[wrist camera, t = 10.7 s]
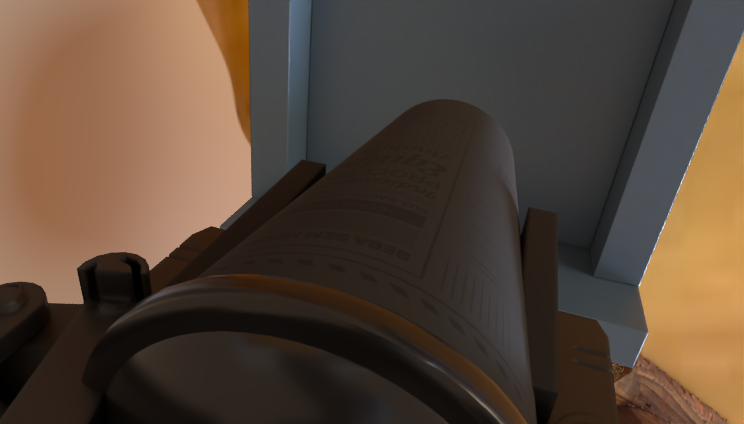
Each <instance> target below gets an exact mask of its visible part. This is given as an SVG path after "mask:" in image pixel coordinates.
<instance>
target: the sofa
mask: <svg viewBox="0 0 744 424" xmlns="http://www.w3.org/2000/svg"><path fill="white" fill-rule="evenodd" d="M248 1H249V60H250V118H251V173H252V176H251V177H252V198H251V199H250V200H248V201H247V202H246V203H245V204H244V205H243V206H242V207H241V208H240V209H238V210H237V211H236V212H235V213H234V214H233V215H232V216H231V217H230V218H228V219H227V220H226V221H225V222H224V223H223V224H222V225H221V226H220V229H224V230H226V229H227V228H228V227H229V226H230V225H231V224H233V223H234V222H235V221H236V220H237V219H238V218H239V217H240V216H241V215H242V214H243V213H244V212H245V211H247V210H248V209H249V208H250V207H251V206H252V205H253V204H254V203H255V202H256V201H257V200H258V199H260V198H261V197H262V196H263V195H264V194H265V193H266V192H267V191H268V190H269V189H270V188H271V187H273V186H274V185H275V184H276V183H277V182H278V181H279V180H280V179H281V178H282V177H283V176H284V175H285V174H287V173H288V172H289V171H290V170H291V169H292V168H293V167H294V166H295V165H296V164H297V163H298V162H300V161H301V160H302V159H303V160H308V161H312V162H317V163H322V164H326V174H327V173H329V172H330V171H331V170H332V169H334V168H335V167H336V166H337V165H339V164H340V163H341V162H342V161H344V160H345V159H346V158H347V157H349V156H350V155H351V154H352V153H354V152H355V151H356V150H357V149H359V148H360V147H361V146H362V145H364V144H365V143H366V142H367V141H369V140H370V139H371V138H372V137H374V136H375V135H376V134H377V133H379V132H380V131H381V130H382V129H384V128H385V127H386V126H387V125H389V124H390V123H391V122H392V121H394V120H395V119H396V118H397V117H399V116H400V115H401V114H402V113H404V112H405V111H407V110H408V109H410V108H411V107H413V106H415V105H418V104H420V103H423V102H426V101H431V100H437V99H451V100H458V101H462V102H466V103H469V104H471V105H474V106H476V107H478V108H480V109H481V110H483V111H484V112H486V113H487V114H489V115H490V116H491V117H492V118H493V119H494V120H495V121H496V122H497V123H498V124H499V125H500V126H501V128H502V129H503V131H504V132H505V134H506V136H507V137H508V140H509V142H510V145H511V148H512V152H513V157H514V166H515V178H516V189H517V200H518V212H519V223H520V234H522V230H523V226H524V222H525V219H526V215H527V211H528V207H531V208H536V209H540V210H545V211H550V212H554V213H558V311H562V312H566V313H570V314H574V315H578V316H582V317H586V318H590V319H595V320H597V321H598V323H599V324H600V326H601V327H602V329H603V330H604V332H605V333H606V335H607V336H608V339H609V346H610V354H611V355H610V358H611V362H612V363H615V364H619V365H623V366H626V367H630V368H633V366H634V364H635V362H636V360H637V357H638V355H639V353H640V351H641V348H642V346H643V344H644V342H645V339H646V337H647V335H648V328H647V324H646V319H645V315H644V311H643V306H642V302H641V297H640V293H639V288H638V287H639V285H640V283H641V280H642V278H643V276H644V273H645V271H646V268H647V266H648V264H649V261H650V259H651V256H652V254H653V251H654V249H655V247H656V244H657V242H658V239H659V237H660V234H661V232H662V230H663V227H664V225H665V222H666V220H667V217H668V215H669V213H670V210H671V208H672V205H673V203H674V200H675V198H676V196H677V193H678V191H679V188H680V186H681V184H682V181H683V179H684V176H685V174H686V171H687V169H688V167H689V164H690V162H691V159H692V157H693V154H694V152H695V150H696V147H697V145H698V142H699V140H700V137H701V135H702V133H703V130H704V128H705V125H706V123H707V120H708V118H709V116H710V113H711V111H712V108H713V106H714V103H715V101H716V99H717V96H718V94H719V91H720V89H721V87H722V84H723V82H724V79H725V77H726V74H727V72H728V70H729V67H730V65H731V62H732V60H733V57H734V55H735V53H736V50H737V48H738V45H739V43H740V40H741V38H742V36H743V33H744V0H248Z"/></svg>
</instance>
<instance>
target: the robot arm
mask: <svg viewBox="0 0 744 424" xmlns="http://www.w3.org/2000/svg"><path fill="white" fill-rule="evenodd" d="M325 175H326V164H322V163H317V162H312V161H308V160H303V159H302V160H301V161H300V162H298V163H297V164H296V165H295V166H294V167H293V168H292V169H291V170H290V171H289V172H288V173H287V174H285V175H284V176H283V177H282V178H281V179H280V180H279V181H278V182H277V183H276V184H275V185H274V186H273V187H271V188H270V189H269V190H268V191H267V192H266V193H265V194H264V195H263V196H262V197H261V198H260V199H258V200H257V201H256V202H255V203H254V204H253V205H252V206H251V207H250V208H249V209H248V210H247V211H245V212H244V213H243V214H242V215H241V216H240V217H239V218H238V219H237V220H236V221H235V222H234V223H233V224H231V225H230V226H229V227H228V228H227V229H226V230H224V229H220V228H216V227H212V226H211V227H209V228H206V229H204V230H202V231H199V232H197V233H195V234H193V235H191V236H190V237H189V238H188V239H187V240H186V241H185V242H183V243H182V244H181V245H180V247H179V248H176V249H175V250H174V251H173V252H171V253H170V255H169V257H166V258H165V259H163V260H162V261H161V262H160V263H159V264H157V265H156V266H155V267H154V268H153V269H152V270H150V271H149V266H148V264H147V262H146V260H145V259H144V258H142V257H140V256H139V255H137V254H132V253H126V252H120V253H108V254H104V255H99V256H96V257H94V258H92V259H90V260H88V261H86V262H84V263H83V264H82V265H81V266H80V267H79V268H77V271H78V276H79V281H80V286H81V290H82V295H83V299H84V304H55V303H53V304H52V303H48V302H47V297H46V293H45V292H44V290H43V288H42V287H41V286H39V285H36V284H34V283H28V282H13V283H6V284H2V285H0V424H104V394H102V393H100V392H98V391H96V390H93V389H91V388H89V387H87V386H85V385H84V384H83V382H82V376H83V372H84V370H85V367H86V364H87V361H88V359H89V356H90V354H91V352H92V350H93V349H94V347H95V345H96V343H97V342H98V340H99V339H100V338H101V337H102V335H103V334H104V333H105V331H106V330H107V329H108V328H109V327H110V326H111V325H112V324H113V323H114V322H115V321H117V320H118V319H119V318H120V317H121V316H122V315H123V314H124V313H126V312H127V311H128V310H129V309H130V308H131V307H133V306H134V305H135V304H137V303H138V302H140V301H142V300H143V299H144V298H146V297H148V296H150V295H151V294H154V293H156V292H158V291H160V290H162V289H164V288H167V287H170V286H173V285H176V284H179V283H182V282H185V281H189V280H193V279H196V278H197V277H198V276H200V275H201V274H202V273H203V272H205V271H206V270H207V269H208V268H210V267H211V266H212V265H213V264H215V263H216V262H217V261H218V260H220V259H221V258H222V257H223V256H225V255H226V254H227V253H228V252H230V251H231V250H232V249H234V248H235V247H236V246H237V245H239V244H240V243H241V242H242V241H244V240H245V239H246V238H247V237H249V236H250V235H251V234H252V233H254V232H255V231H256V230H257V229H259V228H260V227H261V226H262V225H264V224H265V223H266V222H267V221H269V220H270V219H271V218H272V217H274V216H275V215H276V214H277V213H279V212H280V211H281V210H282V209H284V208H285V207H286V206H287V205H289V204H290V203H291V202H292V201H294V200H295V199H296V198H297V197H299V196H300V195H301V194H302V193H304V192H305V191H306V190H307V189H309V188H310V187H311V186H312V185H314V184H315V183H316V182H317V181H319V180H320V179H321V178H322V177H324V176H325ZM521 246H522V279H523V290H524V301H525V312H526V323H527V335H528V346H529V357H530V368H531V379H532V388H533V392H534V397H535V405H536V415H537V424H619V418H618V410H617V402H616V394H615V386H614V378H613V373H612V362H611V358H610V355H611V354H610V346H609V339H608V336H607V335H606V333H605V332H604V330H603V329H602V327H601V326H600V324H599V323H598V321H597V320H595V319H590V318H586V317H582V316H578V315H574V314H570V313H566V312H562V311H558V213H554V212H550V211H545V210H540V209H536V208H531V207H528V211H527V215H526V219H525V222H524V226H523V230H522V234H521Z"/></svg>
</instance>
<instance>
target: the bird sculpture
mask: <svg viewBox="0 0 744 424" xmlns="http://www.w3.org/2000/svg"><path fill="white" fill-rule="evenodd" d="M647 362H648V363H647ZM657 368H658V367H655V366H654V365H653V363H652V364H651V363H650V362H649V361H648V360H647V359H646V358H645V360H644V359H643V356H642V355H641V354H640V353H639V355H638V357H637V360H636V362H635V364H634V366H633V368H630V367H626V369H625V370H624V372H623V373H622V374H621V376H620V377H619V378H618V379H617V380H616V381H615V382H614V386H615V394H616V402H617V410H618V418H619V424H667V422H670V424H729V423H728V422H727V419H726V420H724V418H720V417H719V414H718V413H714V412H713V410H712V408H711V407H709V406H708V407H706V406H705V405H704V404H703V403H700V402H699V399H698V398H695V396H694V395H693V393H692V395H691V394H690V395H689V392H688V390H686V389H685V388H684V387H683V386H681V385H679V384H678V383H677V382H676V381H675V380H674V381H673V380H672V378H670V377H669V376H668V375H667V374H666V373H665V372H662V371H661V370H659V369H657ZM670 379H671V381H670ZM682 388H683V389H684V392H683V390H682ZM647 403H649V405H648V404H647ZM628 404H632V405H633V406H636V407H633V406H631V405H630V406H629V405H628ZM642 406H643V407H644V408H645V409H646V410H644V409H643V408H641V407H642ZM653 413H654V414H653Z"/></svg>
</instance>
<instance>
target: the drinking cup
mask: <svg viewBox="0 0 744 424" xmlns="http://www.w3.org/2000/svg"><path fill="white" fill-rule="evenodd" d="M82 382H83V384H84V385H85V386H87V387H89V388H91V389H93V390H96V391H98V392H100V393H102V394H104V424H537V415H536V405H535V397H534V392H533V388H532V379H531V368H530V357H529V346H528V335H527V323H526V312H525V301H524V290H523V279H522V246H521V234H520V223H519V212H518V200H517V189H516V178H515V166H514V157H513V152H512V148H511V145H510V142H509V140H508V137H507V136H506V134H505V132H504V131H503V129H502V128H501V126H500V125H499V124H498V123H497V122H496V121H495V120H494V119H493V118H492V117H491V116H490V115H489V114H487V113H486V112H484V111H483V110H481V109H480V108H478V107H476V106H474V105H471V104H469V103H466V102H462V101H458V100H451V99H437V100H431V101H426V102H423V103H420V104H418V105H415V106H413V107H411V108H410V109H408V110H407V111H405V112H404V113H402V114H401V115H400V116H399V117H397V118H396V119H395V120H394V121H392V122H391V123H390V124H389V125H387V126H386V127H385V128H384V129H382V130H381V131H380V132H379V133H377V134H376V135H375V136H374V137H372V138H371V139H370V140H369V141H367V142H366V143H365V144H364V145H362V146H361V147H360V148H359V149H357V150H356V151H355V152H354V153H352V154H351V155H350V156H349V157H347V158H346V159H345V160H344V161H342V162H341V163H340V164H339V165H337V166H336V167H335V168H334V169H332V170H331V171H330V172H329V173H327V174H326V175H325V176H324V177H322V178H321V179H320V180H319V181H317V182H316V183H315V184H314V185H312V186H311V187H310V188H309V189H307V190H306V191H305V192H304V193H302V194H301V195H300V196H299V197H297V198H296V199H295V200H294V201H292V202H291V203H290V204H289V205H287V206H286V207H285V208H284V209H282V210H281V211H280V212H279V213H277V214H276V215H275V216H274V217H272V218H271V219H270V220H269V221H267V222H266V223H265V224H264V225H262V226H261V227H260V228H259V229H257V230H256V231H255V232H254V233H252V234H251V235H250V236H249V237H247V238H246V239H245V240H244V241H242V242H241V243H240V244H239V245H237V246H236V247H235V248H234V249H232V250H231V251H230V252H228V253H227V254H226V255H225V256H223V257H222V258H221V259H220V260H218V261H217V262H216V263H215V264H213V265H212V266H211V267H210V268H208V269H207V270H206V271H205V272H203V273H202V274H201V275H200V276H198V277H197V278H196V279H193V280H189V281H185V282H182V283H179V284H176V285H173V286H170V287H167V288H164V289H162V290H160V291H158V292H156V293H154V294H151V295H150V296H148V297H146V298H144V299H143V300H142V301H140V302H138V303H137V304H135V305H134V306H133V307H131V308H130V309H129V310H128V311H127V312H126V313H124V314H123V315H122V316H121V317H120V318H119V319H118V320H117V321H115V322H114V323H113V324H112V325H111V326H110V327H109V328H108V329H107V330H106V331H105V333H104V334H103V335H102V337H101V338H100V339H99V340H98V342H97V343H96V345H95V347H94V349H93V350H92V352H91V354H90V356H89V359H88V361H87V364H86V367H85V370H84V372H83V376H82Z"/></svg>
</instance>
